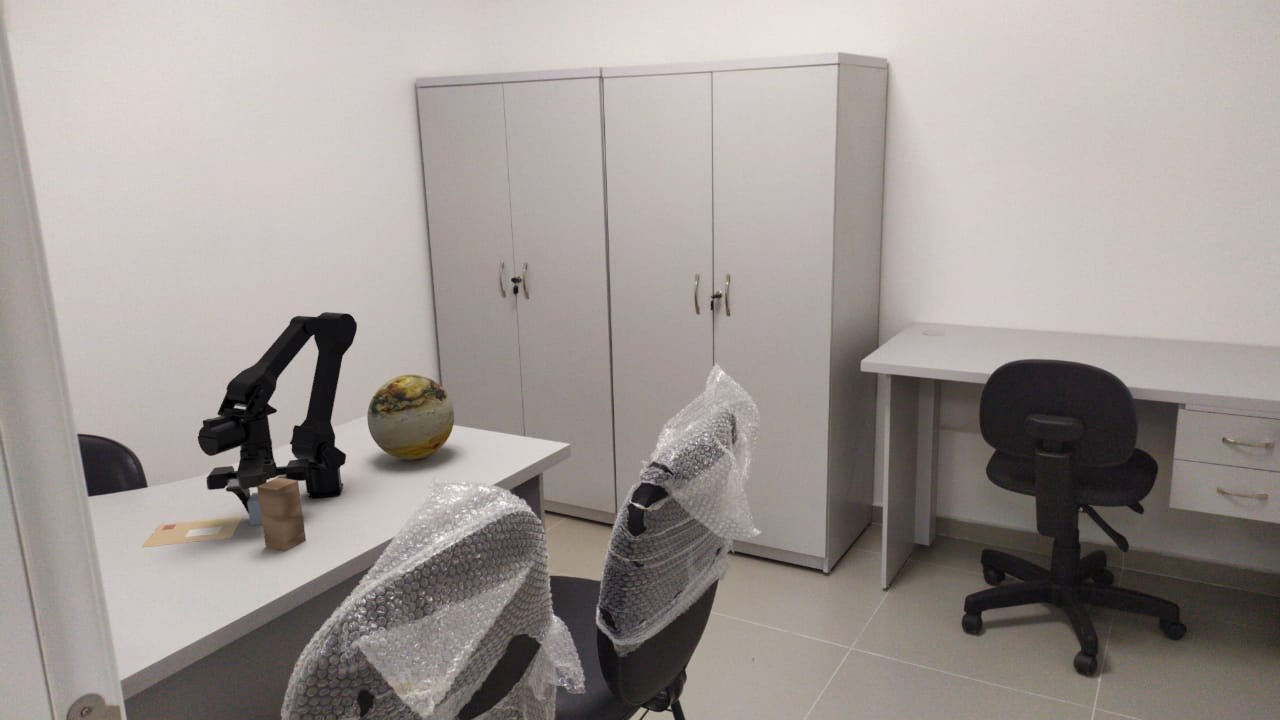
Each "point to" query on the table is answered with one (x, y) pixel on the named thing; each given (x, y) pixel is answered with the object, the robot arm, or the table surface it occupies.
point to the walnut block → (281, 513)
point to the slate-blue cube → (254, 509)
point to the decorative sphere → (410, 417)
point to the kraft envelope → (193, 531)
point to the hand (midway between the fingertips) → (265, 514)
